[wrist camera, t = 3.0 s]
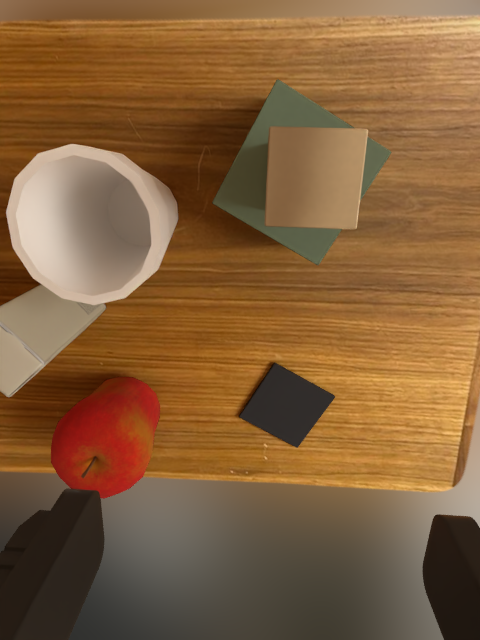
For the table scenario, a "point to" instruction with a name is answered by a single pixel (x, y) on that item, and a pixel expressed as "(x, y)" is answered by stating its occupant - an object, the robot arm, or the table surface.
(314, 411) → the mat
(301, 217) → the block
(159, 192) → the foam cup
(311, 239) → the stand
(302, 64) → the table surface
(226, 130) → the table surface
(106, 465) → the apple
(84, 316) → the box
